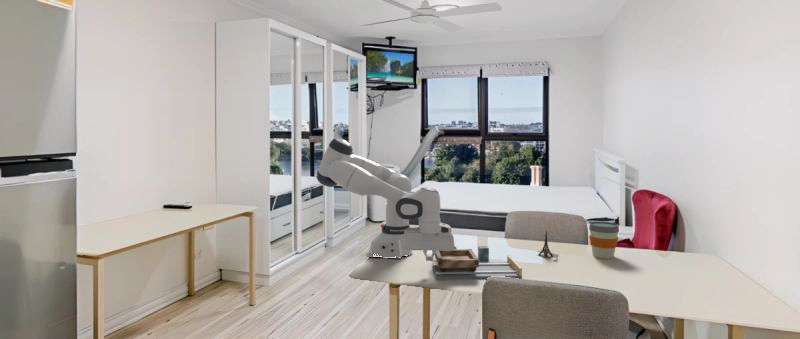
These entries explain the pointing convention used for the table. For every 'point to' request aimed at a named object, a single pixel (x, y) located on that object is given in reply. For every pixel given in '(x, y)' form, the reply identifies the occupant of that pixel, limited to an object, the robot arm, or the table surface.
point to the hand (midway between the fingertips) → (429, 260)
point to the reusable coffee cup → (603, 238)
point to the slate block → (483, 253)
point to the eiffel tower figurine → (547, 251)
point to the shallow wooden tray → (456, 259)
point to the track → (482, 270)
